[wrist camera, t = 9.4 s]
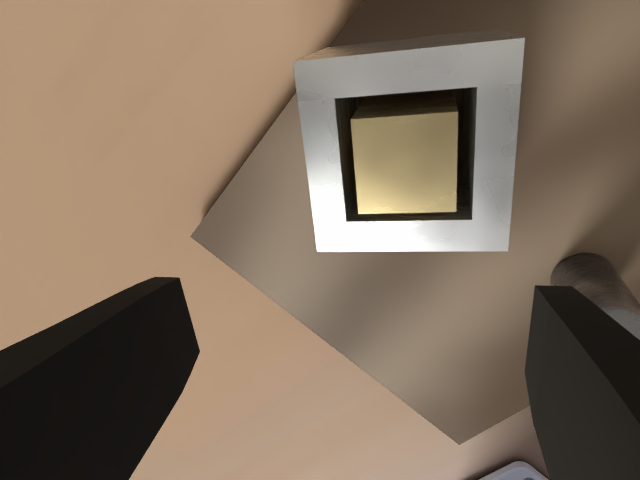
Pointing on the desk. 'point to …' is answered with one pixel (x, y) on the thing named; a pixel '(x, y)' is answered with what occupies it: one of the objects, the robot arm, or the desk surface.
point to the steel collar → (402, 77)
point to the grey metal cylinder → (600, 287)
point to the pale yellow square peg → (406, 152)
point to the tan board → (459, 266)
